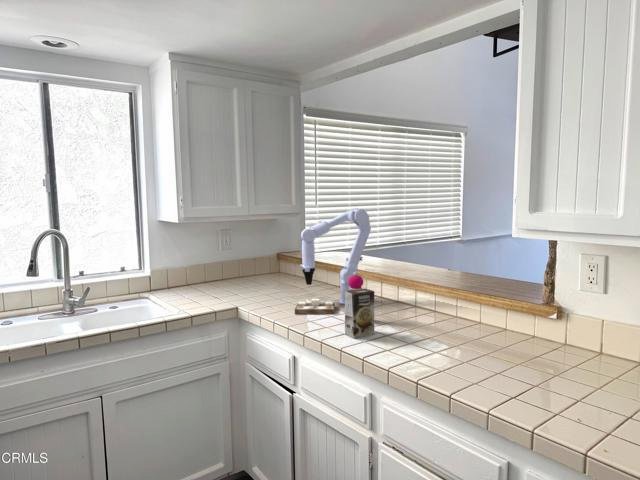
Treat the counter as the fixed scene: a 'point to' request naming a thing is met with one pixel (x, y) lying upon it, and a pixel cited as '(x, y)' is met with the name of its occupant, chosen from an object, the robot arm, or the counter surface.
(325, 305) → the button
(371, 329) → the coffee box
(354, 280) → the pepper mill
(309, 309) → the button board
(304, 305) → the button
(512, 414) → the counter surface
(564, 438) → the counter surface
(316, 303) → the middle button
